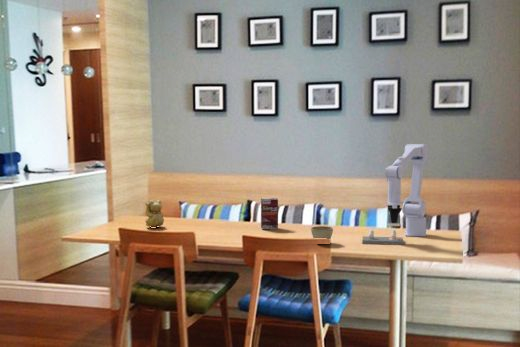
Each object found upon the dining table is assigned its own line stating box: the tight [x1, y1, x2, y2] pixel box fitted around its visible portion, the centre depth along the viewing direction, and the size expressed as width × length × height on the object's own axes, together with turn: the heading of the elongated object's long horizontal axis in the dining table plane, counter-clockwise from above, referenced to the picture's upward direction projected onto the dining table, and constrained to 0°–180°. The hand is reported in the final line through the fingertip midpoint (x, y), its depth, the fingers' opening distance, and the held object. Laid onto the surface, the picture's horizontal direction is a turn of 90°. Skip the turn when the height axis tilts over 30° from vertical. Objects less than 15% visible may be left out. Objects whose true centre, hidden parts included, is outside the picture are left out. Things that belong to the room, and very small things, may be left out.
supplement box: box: [260, 197, 279, 231], centre depth 290 cm, size 9×5×16 cm, turn 97°
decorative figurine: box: [144, 199, 165, 228], centre depth 297 cm, size 10×8×15 cm
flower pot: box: [310, 225, 334, 240], centre depth 253 cm, size 10×10×7 cm
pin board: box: [361, 229, 404, 246], centre depth 255 cm, size 18×9×6 cm, turn 79°
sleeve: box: [387, 212, 401, 227], centre depth 253 cm, size 5×5×5 cm
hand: (393, 221), depth 253 cm, fingers closed on sleeve, 5 cm apart
